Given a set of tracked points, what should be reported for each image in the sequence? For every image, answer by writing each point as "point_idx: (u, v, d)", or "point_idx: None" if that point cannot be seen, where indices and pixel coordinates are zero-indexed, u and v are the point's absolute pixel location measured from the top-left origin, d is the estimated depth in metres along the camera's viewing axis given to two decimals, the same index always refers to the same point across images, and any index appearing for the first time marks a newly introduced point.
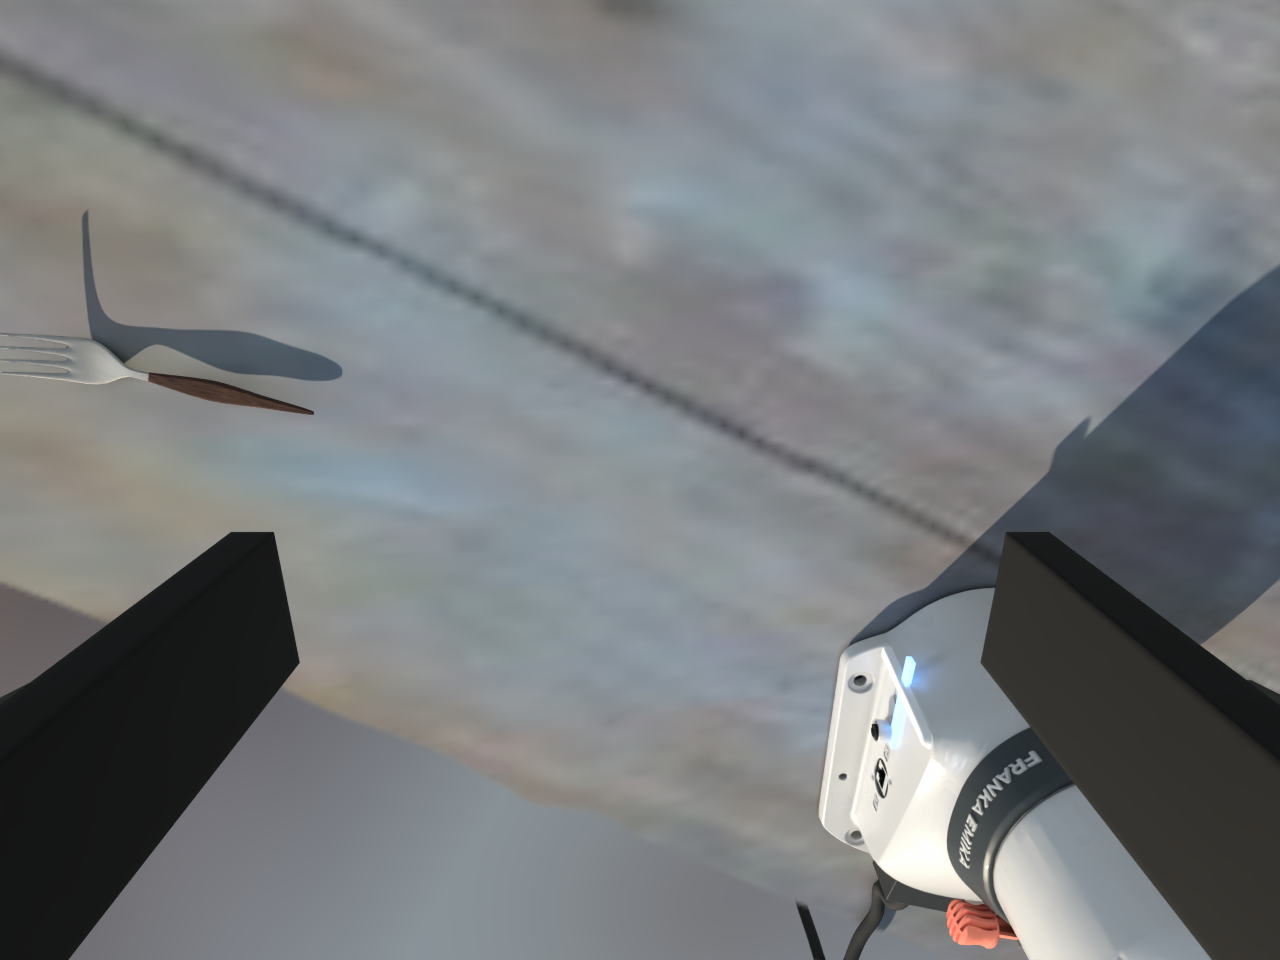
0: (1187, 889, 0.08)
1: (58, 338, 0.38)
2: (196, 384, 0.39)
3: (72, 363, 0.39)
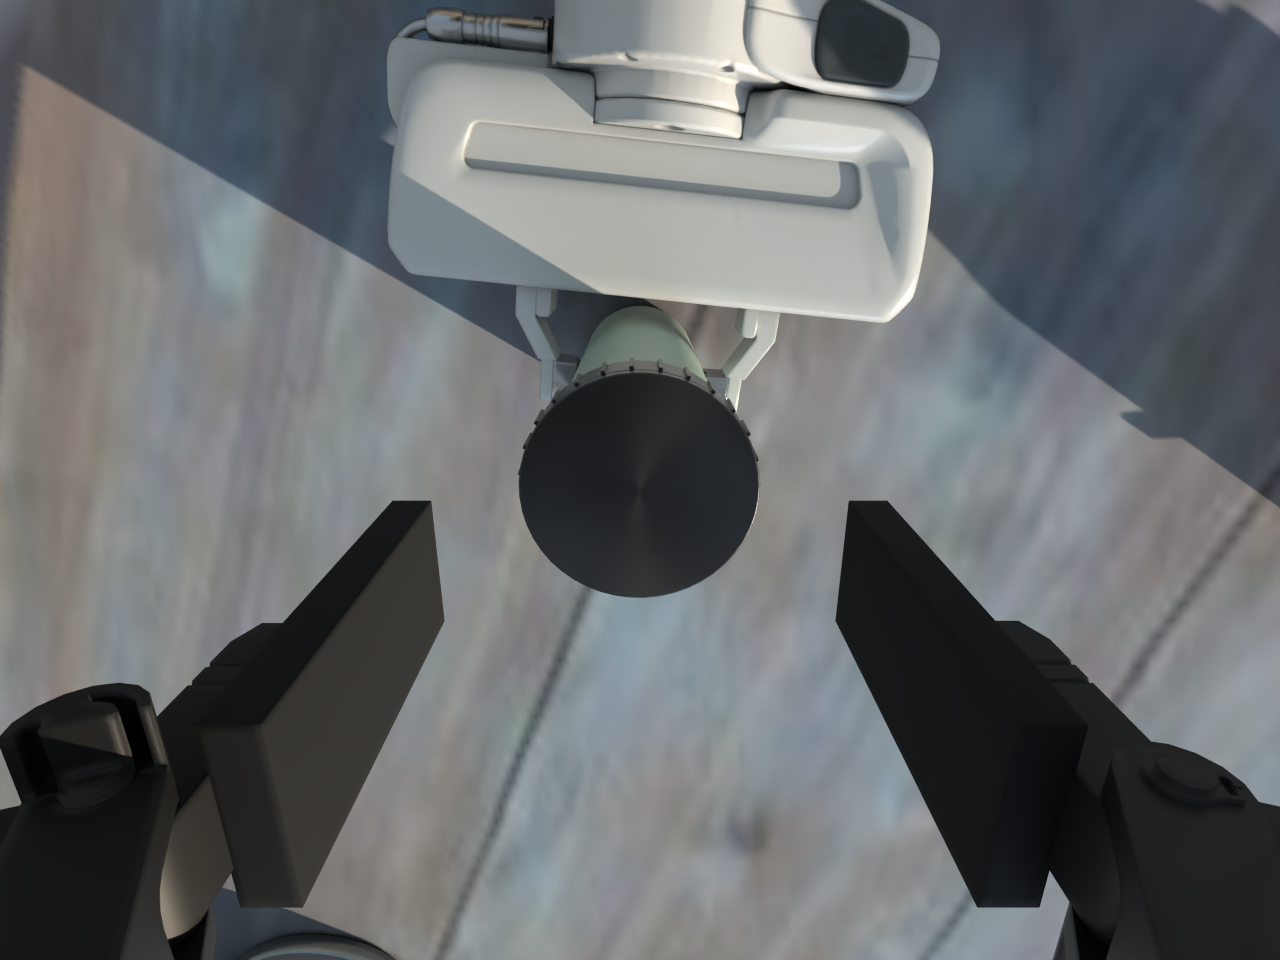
0: (937, 793, 0.10)
1: None
2: None
3: None
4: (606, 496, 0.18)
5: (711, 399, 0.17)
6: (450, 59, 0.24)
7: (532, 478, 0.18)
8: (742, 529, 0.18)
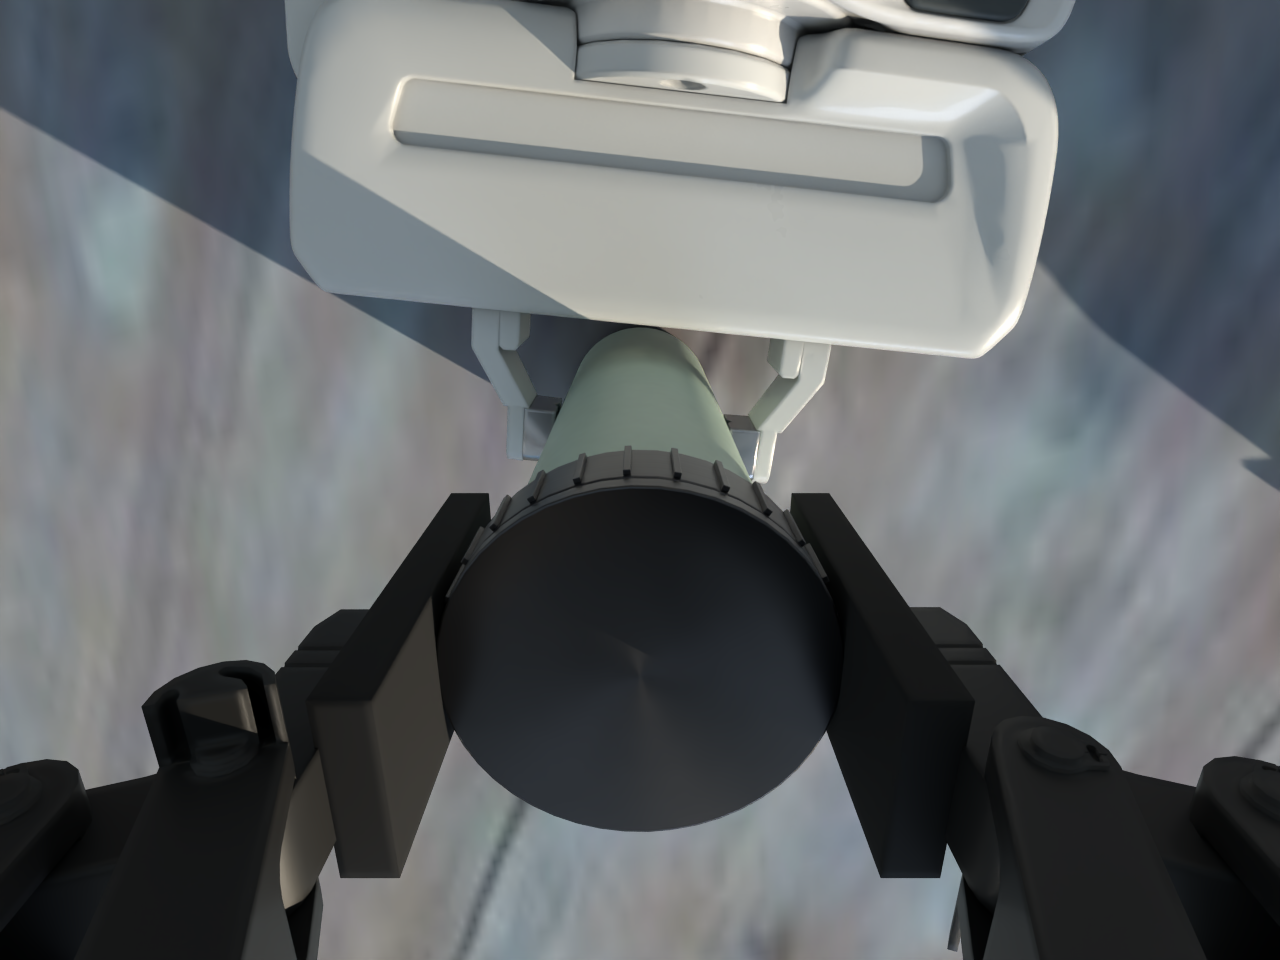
0: (852, 771, 0.10)
1: None
2: None
3: None
4: (585, 682, 0.11)
5: (767, 530, 0.10)
6: None
7: (458, 655, 0.10)
8: (812, 733, 0.11)
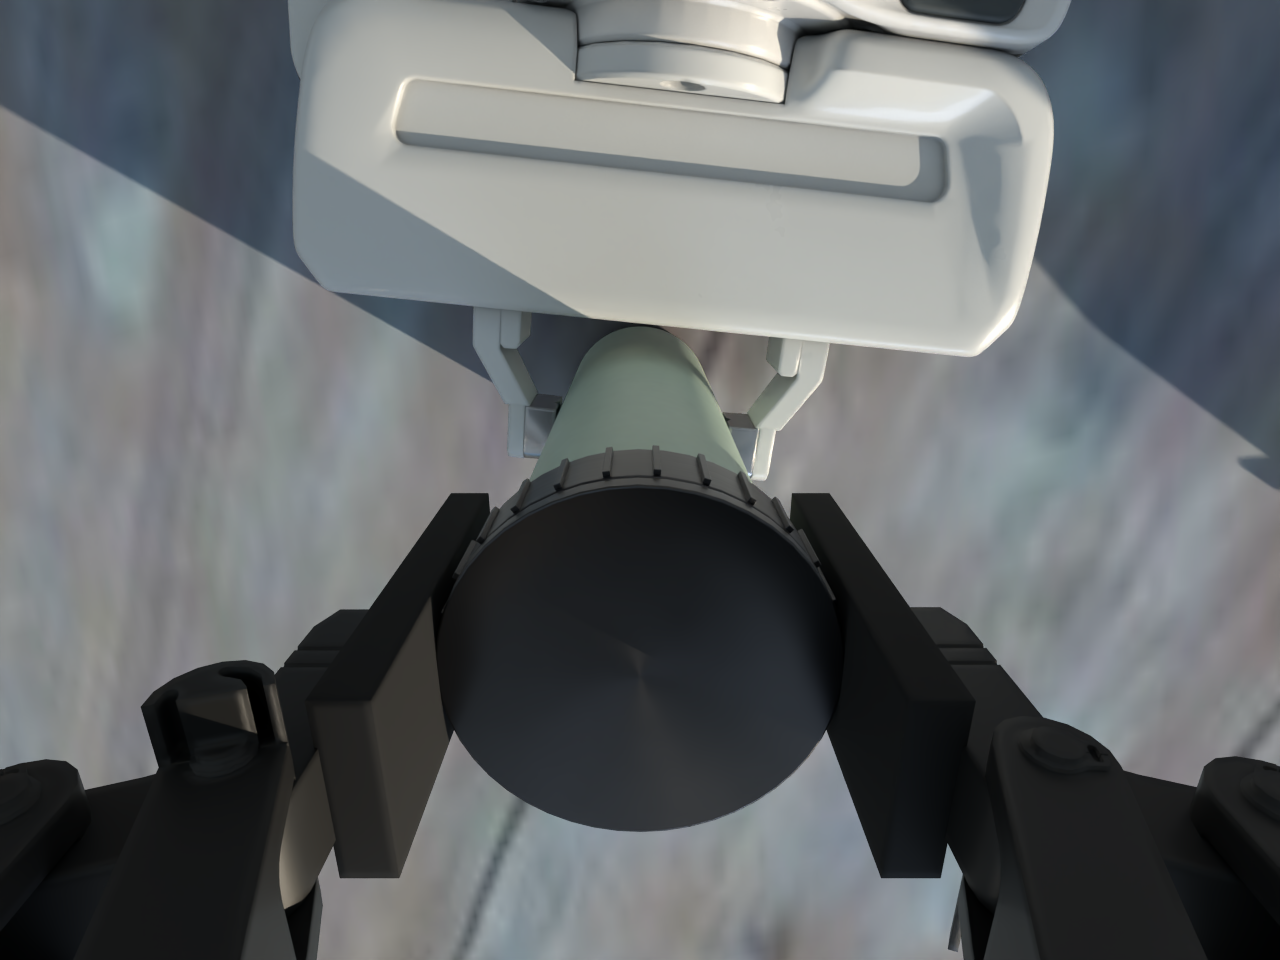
0: (853, 771, 0.10)
1: None
2: None
3: None
4: (677, 710, 0.11)
5: (441, 675, 0.10)
6: None
7: (717, 801, 0.11)
8: (588, 505, 0.10)
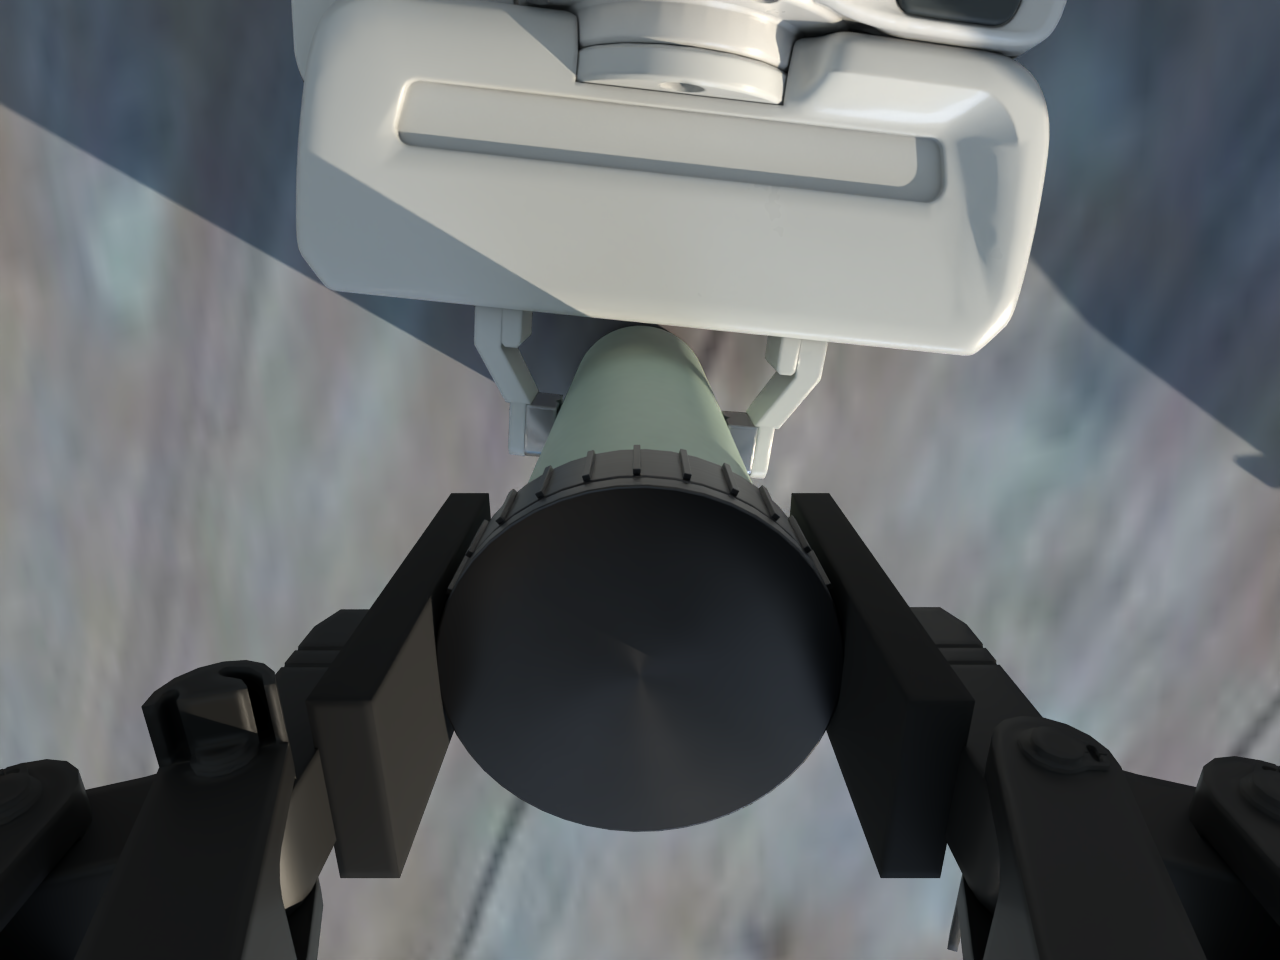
0: (852, 771, 0.10)
1: None
2: None
3: None
4: (651, 629, 0.10)
5: (744, 803, 0.11)
6: None
7: (729, 528, 0.10)
8: (524, 791, 0.11)
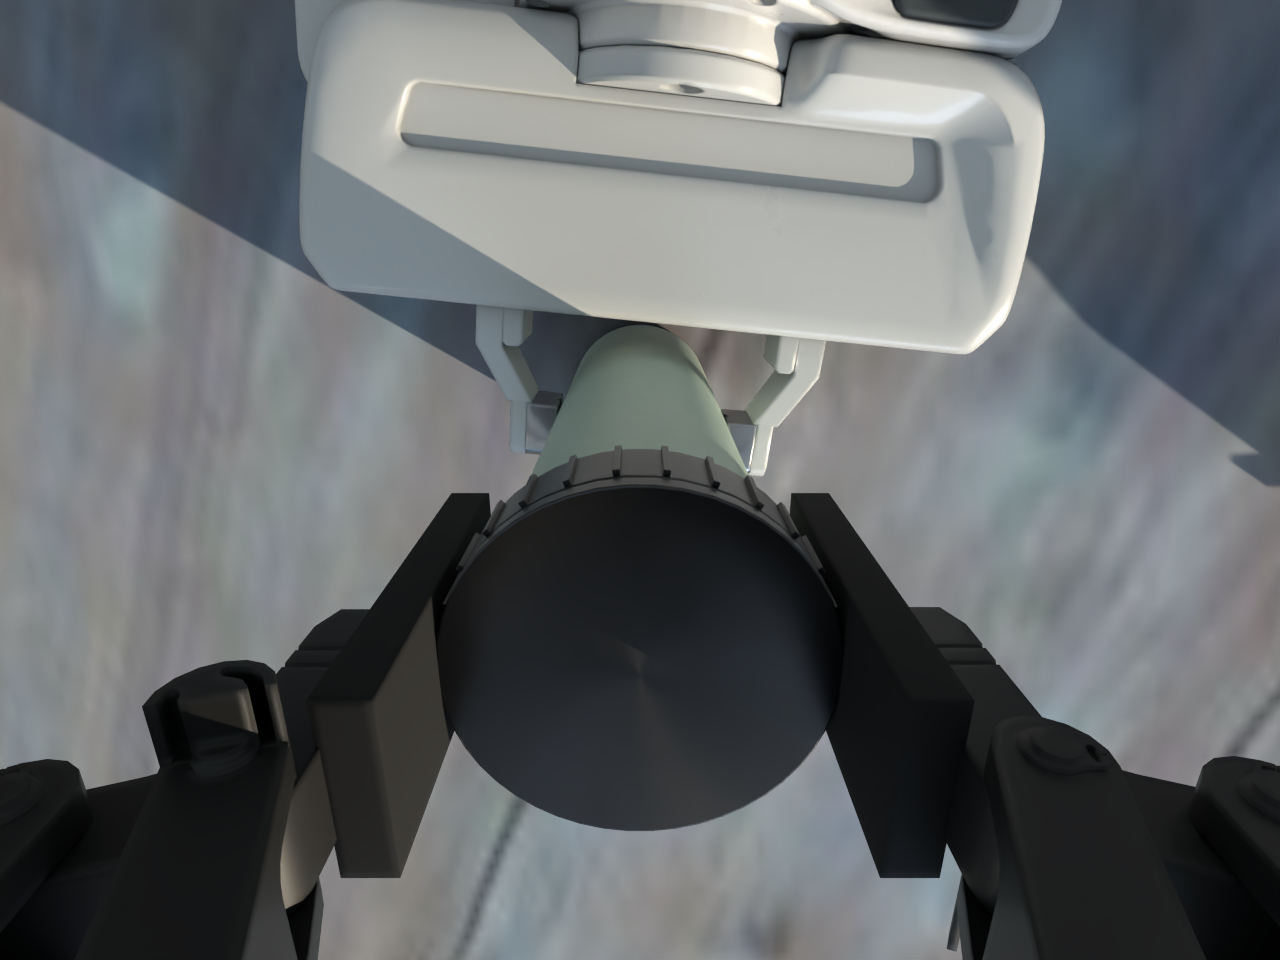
0: (852, 771, 0.10)
1: None
2: None
3: None
4: (589, 694, 0.11)
5: (714, 503, 0.10)
6: None
7: (462, 697, 0.11)
8: (828, 690, 0.11)
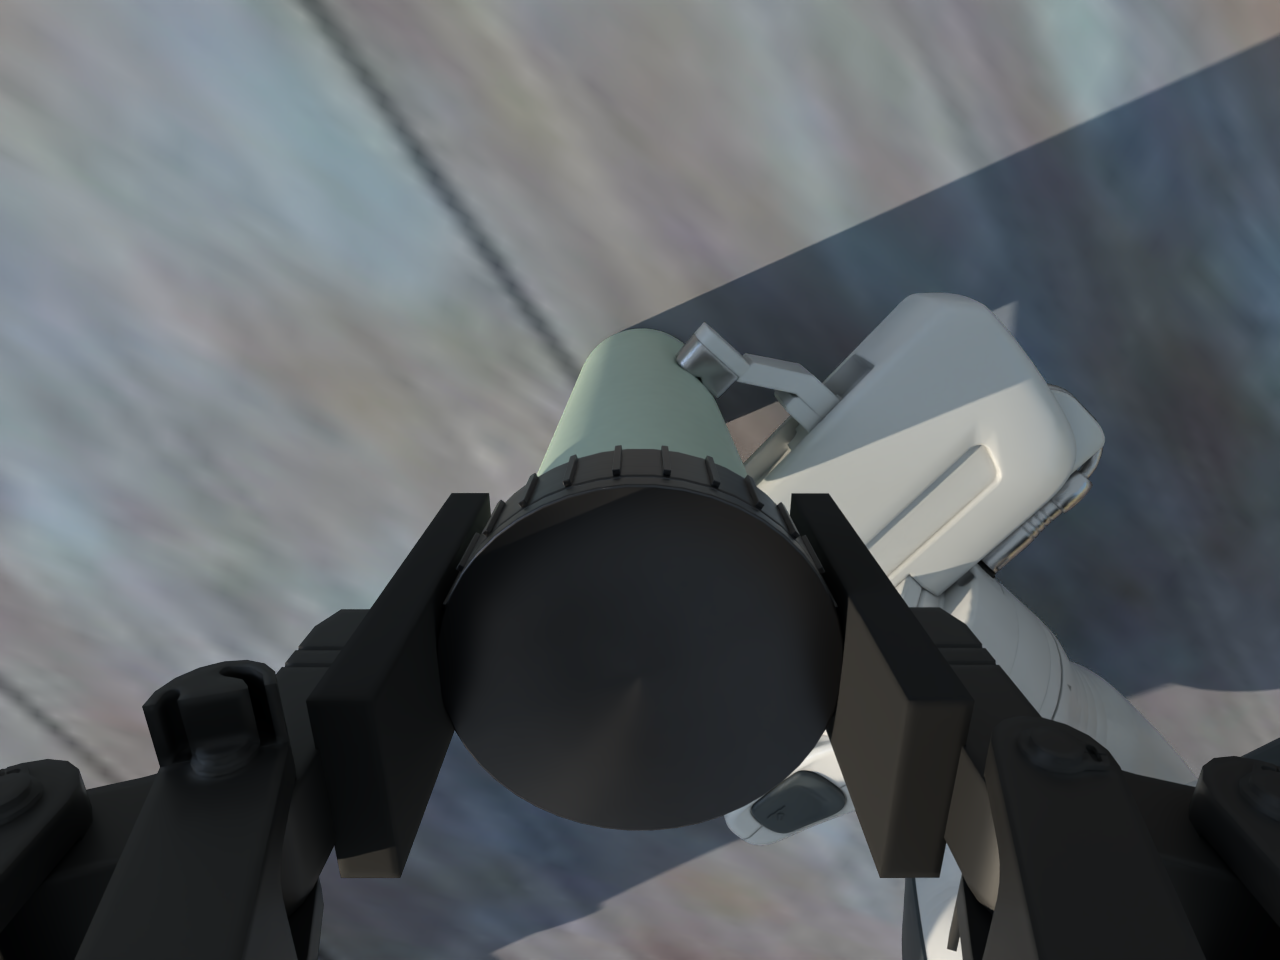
0: (852, 771, 0.10)
1: None
2: None
3: None
4: (588, 694, 0.11)
5: (714, 502, 0.10)
6: (1056, 492, 0.22)
7: (463, 697, 0.11)
8: (828, 690, 0.11)
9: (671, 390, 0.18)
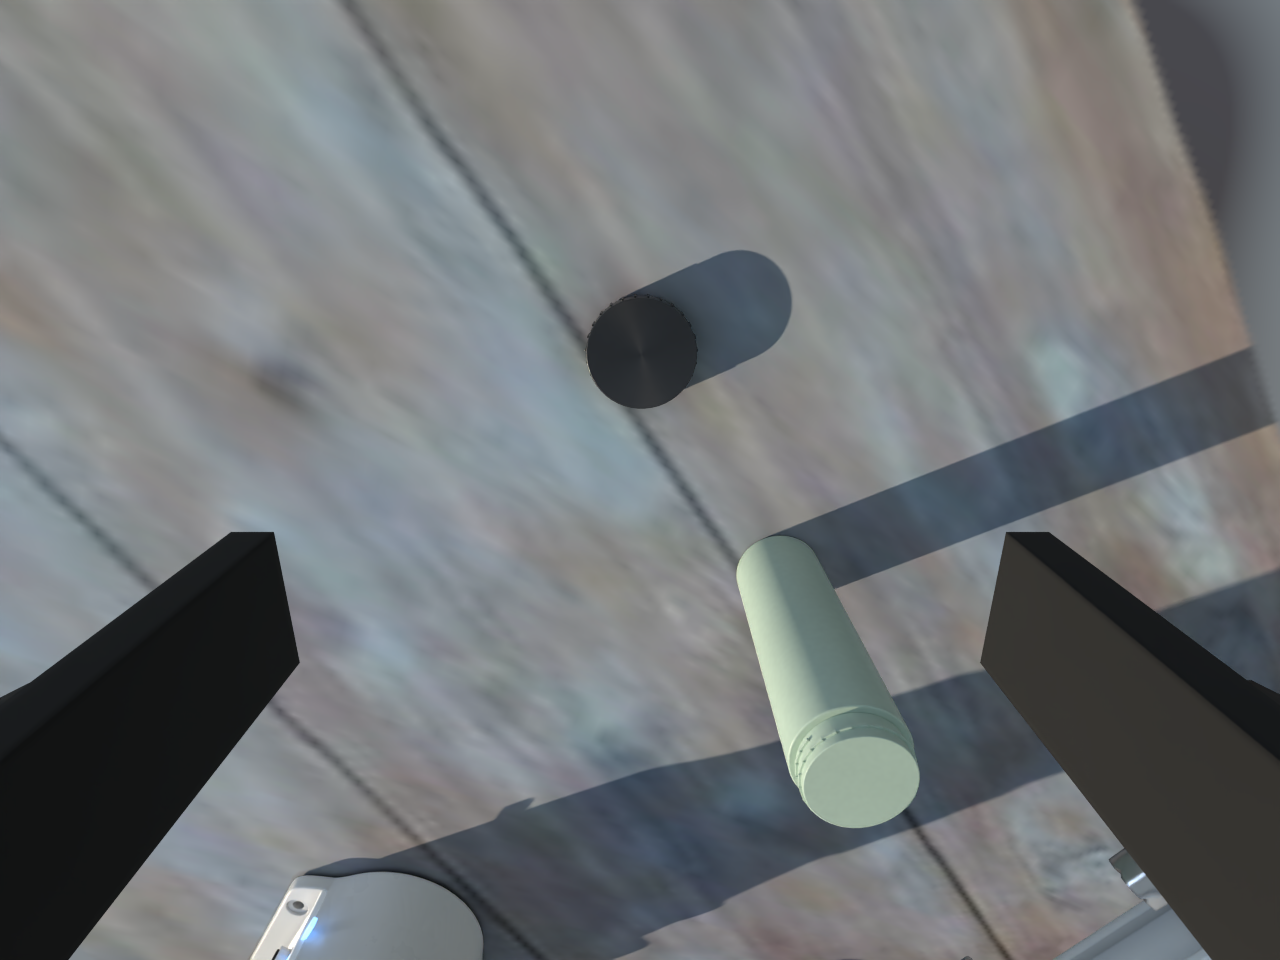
0: (1187, 889, 0.08)
1: None
2: None
3: None
4: (627, 361, 0.39)
5: (660, 302, 0.38)
6: None
7: (593, 362, 0.39)
8: (693, 359, 0.39)
9: (839, 633, 0.34)
